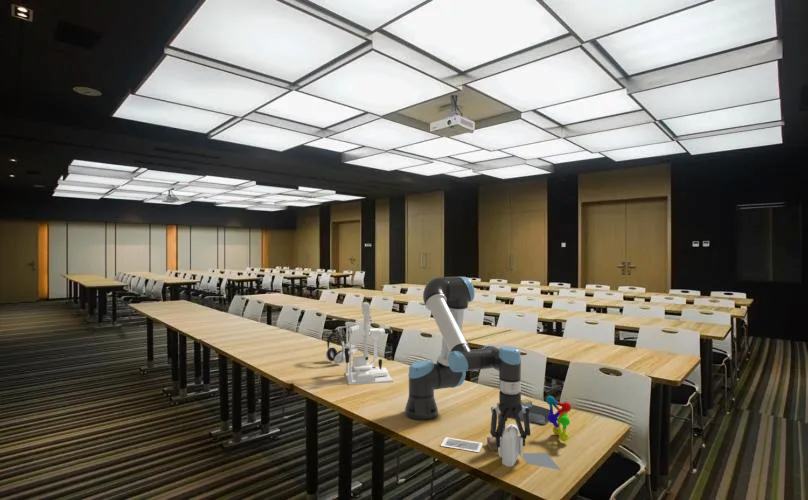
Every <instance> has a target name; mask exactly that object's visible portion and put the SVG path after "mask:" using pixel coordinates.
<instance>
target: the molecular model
mask: <svg viewBox="0 0 808 500" xmlns="http://www.w3.org/2000/svg"><path fill="white" fill-rule="evenodd" d="M545 402H546V404H548V405H549V410H550V414H549V415H548V422H549V423H551V424H552V425H553V428H552V432H553V434H554V435H556V436H558V437H559V439H560V440H561V441H562V442H567V441H568V440H569V437H570V436H569V434H568V432H567V426H568V425H570V421H571V420H570V418H569V417H568V413H569V412H570V411H571V409H572V405H571V404H570V403H569V402H567V401H564V402H559V401H557V400H556V399H555V397H554V396H552V395H548V396H546V398H545ZM553 407H554V408H555V409H556V413H554V408H553ZM561 425H562V427H561Z"/></svg>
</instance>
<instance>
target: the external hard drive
mask: <svg viewBox="0 0 808 500" xmlns="http://www.w3.org/2000/svg"><path fill="white" fill-rule="evenodd" d="M528 408H529V409H530V411H529V423H530V422H531V423H535V424H540V425H547V423H548V422H549V421H548V415H549V414H550V408H546V407H543V406H540V405H535V404H532V407H528ZM518 415H519V418H520V420H523V421H524V419H523V412H522V410H521V411H520V413H519V414H518Z"/></svg>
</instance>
